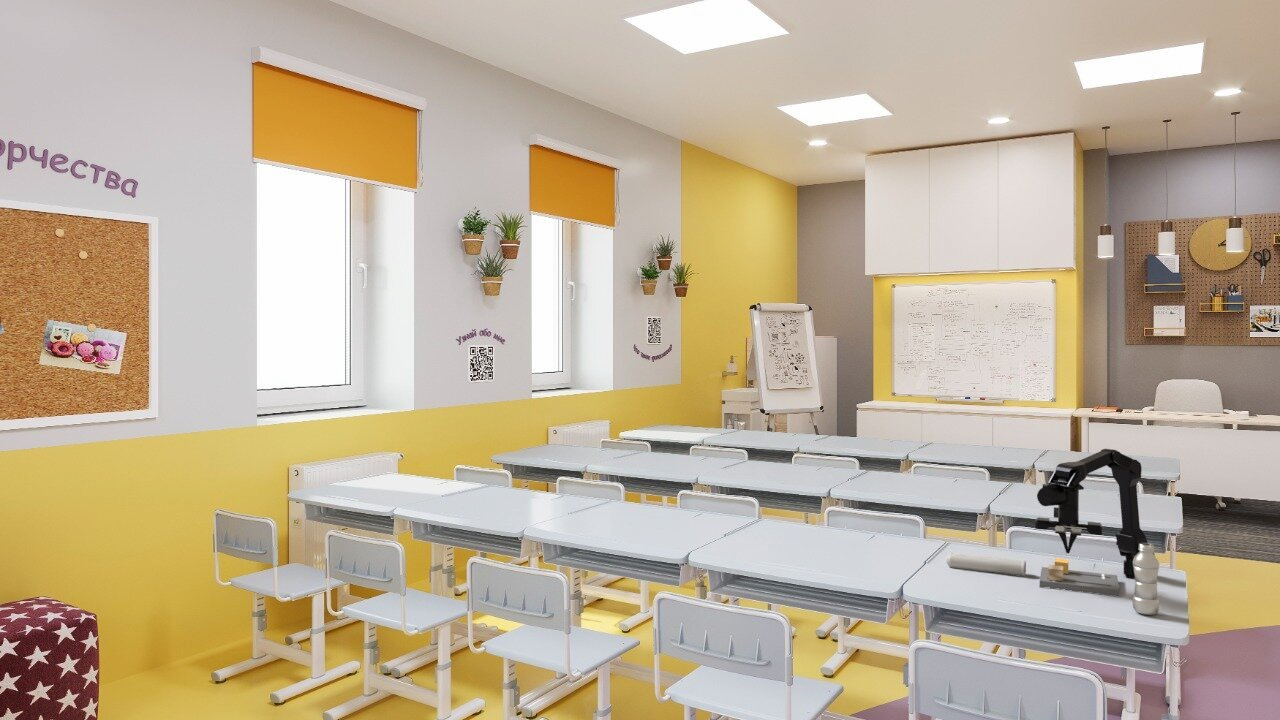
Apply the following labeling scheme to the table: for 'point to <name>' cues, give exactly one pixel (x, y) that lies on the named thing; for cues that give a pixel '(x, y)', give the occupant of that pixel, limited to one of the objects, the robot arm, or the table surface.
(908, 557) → the table surface
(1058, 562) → the block
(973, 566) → the tube
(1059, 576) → the oak fader
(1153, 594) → the plastic bottle
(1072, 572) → the fader panel
